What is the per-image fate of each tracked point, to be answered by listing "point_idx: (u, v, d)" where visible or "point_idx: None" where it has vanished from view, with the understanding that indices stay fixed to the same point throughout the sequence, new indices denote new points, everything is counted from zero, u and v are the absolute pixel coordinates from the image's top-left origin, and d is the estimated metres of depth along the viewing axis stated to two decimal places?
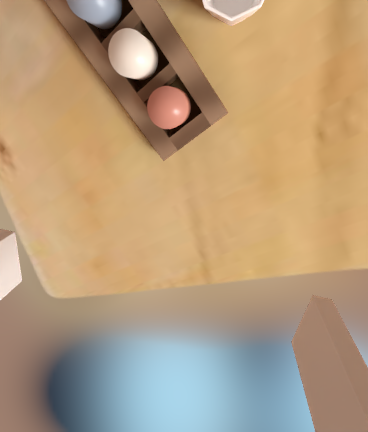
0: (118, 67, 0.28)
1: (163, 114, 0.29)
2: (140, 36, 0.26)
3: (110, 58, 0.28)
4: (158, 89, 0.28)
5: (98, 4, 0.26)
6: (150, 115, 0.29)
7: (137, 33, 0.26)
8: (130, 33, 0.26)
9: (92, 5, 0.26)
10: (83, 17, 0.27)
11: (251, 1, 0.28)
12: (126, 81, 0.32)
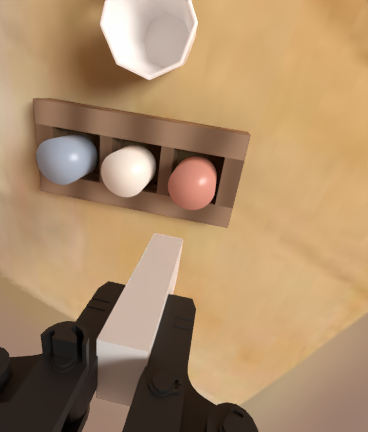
0: (125, 192, 0.25)
1: (193, 195, 0.24)
2: (120, 153, 0.24)
3: (113, 191, 0.26)
4: (170, 179, 0.24)
5: (72, 162, 0.25)
6: (182, 206, 0.25)
7: (116, 153, 0.24)
8: (111, 159, 0.24)
9: (69, 166, 0.25)
10: (71, 181, 0.26)
11: (184, 26, 0.24)
12: (141, 192, 0.29)
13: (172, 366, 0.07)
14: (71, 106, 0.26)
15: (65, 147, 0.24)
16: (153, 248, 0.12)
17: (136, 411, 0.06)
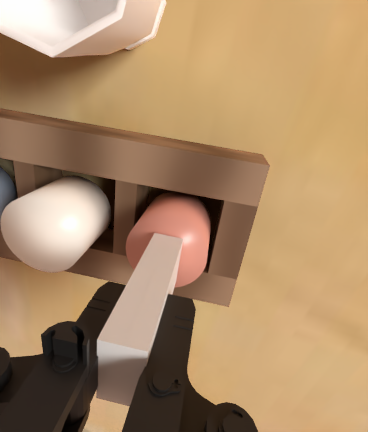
0: (47, 265, 0.14)
1: None
2: (30, 201, 0.13)
3: (28, 263, 0.14)
4: (129, 239, 0.14)
5: None
6: None
7: (23, 201, 0.13)
8: (15, 210, 0.13)
9: None
10: None
11: None
12: (88, 250, 0.18)
13: (172, 366, 0.07)
14: None
15: None
16: (154, 248, 0.12)
17: (136, 411, 0.06)
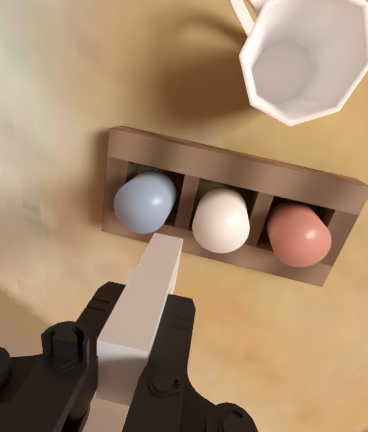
0: (218, 248, 0.21)
1: (301, 251, 0.21)
2: (222, 204, 0.20)
3: (204, 245, 0.21)
4: (278, 232, 0.21)
5: (159, 209, 0.21)
6: (286, 262, 0.22)
7: (217, 203, 0.20)
8: (209, 209, 0.20)
9: (154, 214, 0.21)
10: (152, 230, 0.21)
11: (307, 57, 0.20)
12: None
13: (172, 366, 0.07)
14: (155, 140, 0.22)
15: (153, 192, 0.20)
16: (153, 248, 0.12)
17: (136, 411, 0.06)
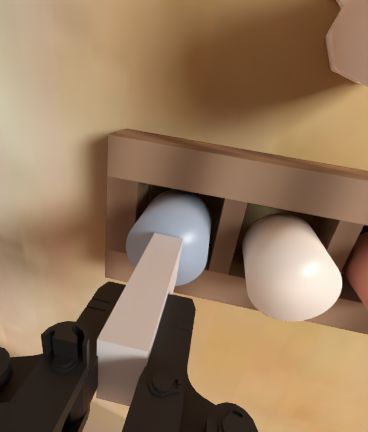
0: (287, 314, 0.14)
1: None
2: (299, 252, 0.12)
3: (264, 311, 0.14)
4: None
5: (195, 253, 0.14)
6: None
7: (289, 251, 0.12)
8: (276, 260, 0.12)
9: (187, 260, 0.14)
10: (184, 282, 0.15)
11: None
12: None
13: (172, 366, 0.07)
14: (179, 149, 0.14)
15: (185, 229, 0.13)
16: (154, 248, 0.12)
17: (136, 411, 0.06)
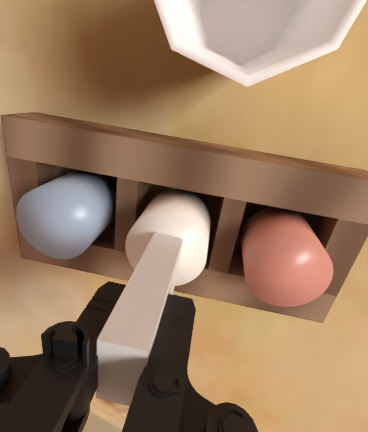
0: None
1: (288, 285, 0.14)
2: (163, 218, 0.13)
3: None
4: (251, 259, 0.14)
5: (78, 225, 0.14)
6: (267, 300, 0.15)
7: (155, 218, 0.13)
8: (145, 226, 0.13)
9: (73, 233, 0.15)
10: (75, 254, 0.15)
11: None
12: None
13: (172, 366, 0.07)
14: (67, 129, 0.15)
15: (65, 202, 0.14)
16: (154, 248, 0.12)
17: (136, 411, 0.06)
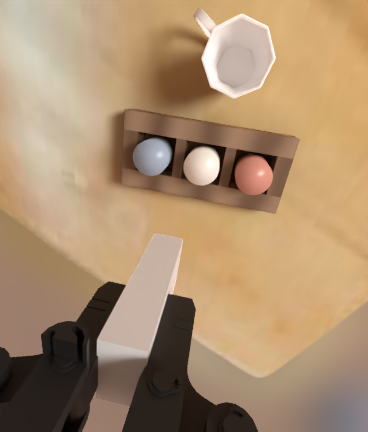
0: (200, 181, 0.33)
1: (254, 183, 0.32)
2: (201, 151, 0.32)
3: (191, 181, 0.33)
4: (238, 171, 0.32)
5: (161, 158, 0.33)
6: (245, 192, 0.33)
7: (197, 151, 0.32)
8: (193, 155, 0.32)
9: (158, 162, 0.33)
10: (158, 173, 0.33)
11: (250, 55, 0.30)
12: None
13: (172, 366, 0.07)
14: (155, 115, 0.33)
15: (157, 147, 0.32)
16: (154, 248, 0.12)
17: (136, 411, 0.06)
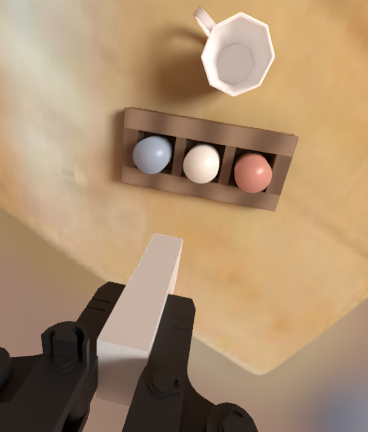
0: (200, 179, 0.33)
1: (254, 181, 0.32)
2: (200, 149, 0.32)
3: (191, 179, 0.33)
4: (237, 169, 0.32)
5: (161, 156, 0.33)
6: (245, 190, 0.33)
7: (197, 149, 0.32)
8: (193, 153, 0.32)
9: (158, 160, 0.33)
10: (158, 171, 0.34)
11: (250, 53, 0.31)
12: None
13: (172, 366, 0.07)
14: (155, 114, 0.33)
15: (157, 145, 0.32)
16: (153, 248, 0.12)
17: (136, 411, 0.06)
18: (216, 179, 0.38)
